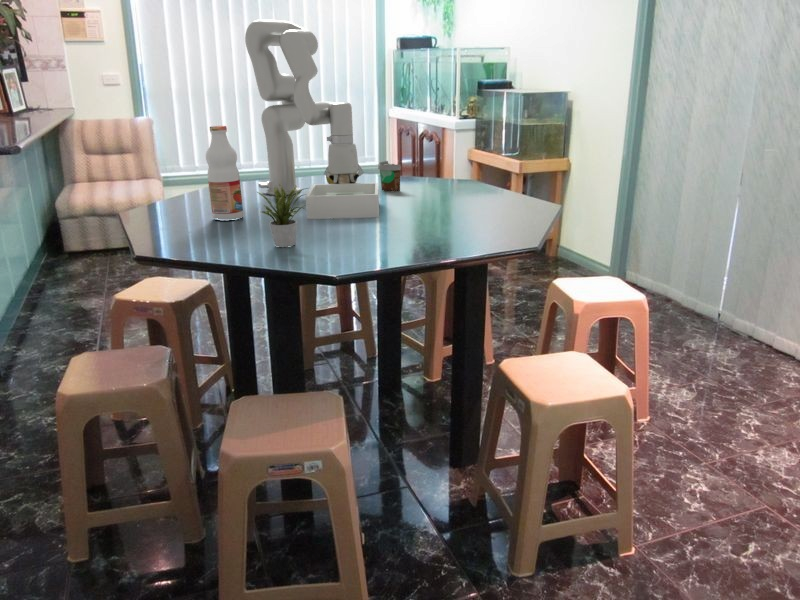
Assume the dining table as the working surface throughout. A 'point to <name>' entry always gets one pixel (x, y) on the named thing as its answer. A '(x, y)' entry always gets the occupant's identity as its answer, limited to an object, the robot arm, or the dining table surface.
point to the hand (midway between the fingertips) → (344, 192)
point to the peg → (344, 178)
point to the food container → (389, 176)
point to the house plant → (283, 218)
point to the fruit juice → (223, 176)
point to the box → (343, 201)
